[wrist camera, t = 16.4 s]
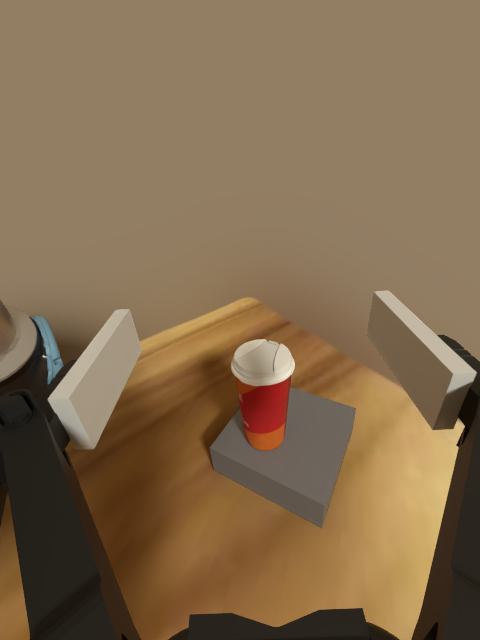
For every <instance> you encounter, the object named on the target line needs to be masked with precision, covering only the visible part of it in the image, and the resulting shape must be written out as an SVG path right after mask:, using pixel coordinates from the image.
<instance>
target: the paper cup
mask: <svg viewBox="0 0 480 640" xmlns="http://www.w3.org/2000/svg"><path fill="white" fill-rule="evenodd" d="M294 368H295V362H294V359H293V357H292V356H291V353H290V351H289V349H288V348H287V347H286V346H284V345H283V344H281V345H280V344H278V343H277V342H273V341H269V342H268V341H266V339H260V340H253V341H249V342H247V343H245V344H243V345H241V346H240V347H239V348H238V349H237V350H236V352H235V354H234V357H233V359H232V362H231V369H232V372H233V374H234V375H235V379H236V385H237V391H238V397H239V403H240V409H241V415H242V420H243V426H244V431H245V436H246V439H247V441H248V443H249V444H250V445H251V446H252V447H253V448H255V449H257V450H261V451H270V450H273V449H275V448H277V447H279V446H280V445H281V443H282V442H283V440H284V436H285V429H286V420H287V411H288V402H289V392H290V382H291V374H292V373H293V371H294Z"/></svg>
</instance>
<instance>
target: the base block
mask: <svg viewBox="0 0 480 640" xmlns="http://www.w3.org/2000/svg"><path fill="white" fill-rule="evenodd" d="M355 411H356V408H353V407H350V406H347V405H344V404H341V403H338V402H335V401H332V400H329V399H325V398H322V397H319V396H316V395H313V394H310V393H307V392H304V391H301V390H298V389H295V388H292V387H290V392H289V402H288V411H287V420H286V429H285V436H284V440H283V442H282V443H281V445H280V446H279V447H277V448H275V449H273V450H270V451H261V450H257V449H255V448H253V447H252V446H251V445H250V444H249V443H248V441H247V439H246V436H245V431H244V426H243V420H242V415H241V409H240V408H239V409H238V410H237V412H236V413H235V415H234V416H233V417H232V419H231V420H230V421H229V423H228V424H227V425H226V427H225V428H224V429H223V431H222V432H221V433H220V435H219V436H218V437H217V439H216V440H215V441H214V443H213V444H212V445H211V447H210V453H211V458H212V463H213V469H214V470H215V471H217V472H218V473H220V474H222V475H224V476H226V477H228V478H230V479H231V480H233V481H235V482H237V483H239V484H241V485H243V486H244V487H246V488H248V489H250V490H252V491H254V492H256V493H257V494H259V495H261V496H263V497H265V498H267V499H269V500H270V501H272V502H274V503H276V504H278V505H280V506H282V507H283V508H285V509H287V510H289V511H291V512H293V513H295V514H296V515H298V516H300V517H302V518H304V519H306V520H308V521H309V522H311V523H313V524H315V525H317V526H319V527H321V528H322V526H323V523H324V519H325V516H326V513H327V510H328V507H329V503H330V500H331V497H332V494H333V491H334V487H335V484H336V481H337V478H338V475H339V471H340V468H341V465H342V462H343V459H344V455H345V452H346V449H347V446H348V443H349V439H350V436H351V433H352V429H353V423H354V417H355Z"/></svg>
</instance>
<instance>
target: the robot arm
mask: <svg viewBox="0 0 480 640" xmlns="http://www.w3.org/2000/svg"><path fill="white" fill-rule="evenodd" d="M367 337H368V338H369V339H370V341H371V342H372V344H373V345H374V347H375V348H376V349H377V351H378V352H379V354H380V355H381V356H382V358H383V360H384V361H385V362H386V364H387V365H388V367H389V368H390V369H391V371H392V372H393V374H394V375H395V377H396V378H397V380H398V381H399V382H400V384H401V385H402V387H403V388H404V390H405V391H406V392H407V394H408V395H409V397H410V398H411V400H412V401H413V402H414V404H415V405H416V407H417V408H418V410H419V411H420V412H421V414H422V415H423V417H424V418H425V420H426V421H427V422H428V424H429V425H430V427H431V428H432V430H442V429H453V428H454V426H455V424H456V421H457V419H458V418H459V419H460V420H461V421H462V422H463V424H464V425H465V427H464V430H463V432H462V434H461V436H460V439H459V441H458V443H457V445H456V446H458V447H459V449H458V453H457V458H456V462H455V466H454V471H453V475H452V479H451V484H450V488H449V492H448V497H447V501H446V505H445V509H444V514H443V518H442V522H441V527H440V531H439V535H438V540H437V544H436V548H435V553H434V557H433V561H432V566H431V570H430V574H429V579H428V583H427V587H426V592H425V596H424V600H423V605H422V609H421V613H420V616H419V619H418V622H417V624H416V627H415V630H414V633H413V636H412V640H480V362H479V361H478V360H477V359H476V358H475V357H473V356H471V354H470V353H469V352H468V351H467V350H464V348H463V347H462V346H461V345H460V344H459V343H457V342H456V341H455V340H453V339H450V338H449V337H447V336H445V335H436V334H435V333H434V332H432V331H431V330H430V329H429V328H428V327H427V326H426V325H425V324H424V323H423V322H422V321H421V320H420V319H419V318H417V317H416V316H415V315H414V314H413V313H412V312H411V311H410V310H409V309H408V308H406V306H404V305H403V304H402V303H401V302H400V301H399V300H398V299H397V298H396V297H395V296H394V295H393V294H391V293H390V292H389V291H376V292H374V293H373V299H372V305H371V311H370V317H369V323H368V329H367ZM141 351H142V349H141V346H140V342H139V339H138V336H137V332H136V329H135V325H134V322H133V319H132V315H131V312H130V309H124V310H116V311H115V312H114V313H113V314H112V316H111V317H110V318H109V320H108V321H107V322H106V324H105V325H104V326H103V327H102V329H101V330H100V331H99V333H98V334H97V335H96V336H95V338H94V339H93V340H92V342H91V343H90V345H89V346H88V347H87V348H86V350H85V351H84V352H83V354H82V355H81V356H80V357H79V359H78V360H72V361H70V362H69V363H67V364H66V365H65V366H64V365H63V362H62V359H61V356H60V352H59V349H58V346H57V343H56V340H55V337H54V335H53V332H52V330H51V327H50V325H49V323H48V321H47V319H46V318H45V317H42V316H35V317H34V316H31V317H28V316H27V315H26V314H25V313H24V312H22V311H20V310H18V309H16V308H13V307H11V306H7V305H4V304H3V303H2V301H1V300H0V525H1V520H2V515H3V510H4V505H5V500H6V495H7V490H8V492H9V499H10V505H11V512H12V518H13V525H14V531H15V538H16V545H17V551H18V558H19V564H20V571H21V577H22V584H23V590H24V597H25V604H26V610H27V617H28V623H29V630H30V640H141V638H140V636H139V634H138V632H137V630H136V628H135V626H134V624H133V622H132V619H131V617H130V614H129V612H128V609H127V606H126V604H125V601H124V599H123V596H122V593H121V591H120V588H119V586H118V583H117V580H116V578H115V575H114V573H113V570H112V568H111V565H110V562H109V560H108V557H107V555H106V552H105V549H104V547H103V544H102V542H101V539H100V536H99V534H98V531H97V529H96V526H95V523H94V521H93V518H92V516H91V513H90V511H89V508H88V505H87V503H86V500H85V498H84V495H83V492H82V490H81V487H80V485H79V482H78V479H77V477H76V474H75V472H74V469H73V466H72V464H71V461H70V459H69V456H68V454H67V452H66V450H65V448H66V446H67V445H68V443H69V441H71V443H72V445H73V447H74V448H75V450H85V449H95V447H96V445H97V443H98V440H99V438H100V436H101V434H102V432H103V430H104V428H105V426H106V424H107V422H108V420H109V418H110V416H111V413H112V411H113V409H114V407H115V405H116V403H117V401H118V399H119V397H120V395H121V393H122V391H123V388H124V386H125V384H126V382H127V380H128V378H129V376H130V374H131V372H132V370H133V368H134V366H135V364H136V361H137V359H138V357H139V355H140V353H141ZM168 640H399V639H398V638H397V637H395V636H394V635H392V634H391V633H389V632H388V631H386V630H384V629H382V628H380V627H378V626H376V625H374V624H372V623H369V622H366V620H365V616H364V612H363V609H362V608H356V609H329V610H318V611H316V612H313V613H311V614H309V615H306V616H304V617H302V618H299V619H297V620H294V621H292V622H290V623H287V624H285V625H283V626H280V627H272V626H269V625H266V624H263V623H260V622H257V621H254V620H251V619H248V618H245V617H242V616H239V615H236V614H233V613H222V614H195V615H190V619H189V628H187V629H184V630H182V631H180V632H179V633H177V634H176V635H174V636H172V637H171V638H170V639H168Z"/></svg>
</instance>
